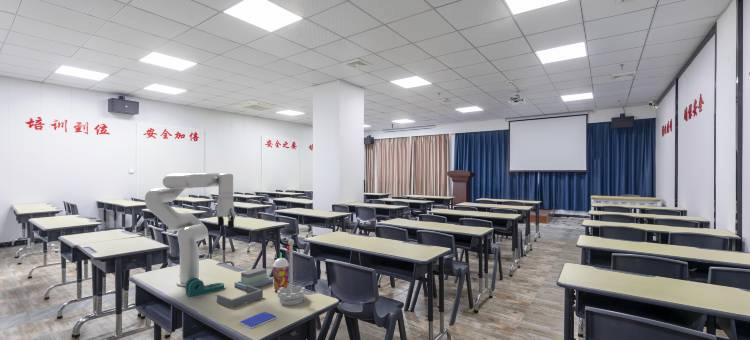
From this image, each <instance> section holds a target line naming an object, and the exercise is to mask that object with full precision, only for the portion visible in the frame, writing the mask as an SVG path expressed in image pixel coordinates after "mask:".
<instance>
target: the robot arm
mask: <svg viewBox="0 0 750 340" xmlns="http://www.w3.org/2000/svg"><path fill="white" fill-rule="evenodd" d="M162 185H163V186H164V187H158V188H153V189H150V190H148V191H147V192H146V193H145V195H144V203H145V206H146V208H147V209H148V210H149V212H151V213H152V214H153V215H154V216H155V217H157V218H158V219H159V220H160V221H161V222H162V223H164V225H165V226H166V227H168V228H169V230H171V231H176V232H177V231H178V232H177V242H178V245H179V246H178V247H179V275H178V277H179V280H177V281H176V285H177V286H180V287H186V282H187V281H188V280H189V279H190V278H193V277H195V278H198V279H199V280H201V281H202V282H203V278H202V277H200V252H199V250H200V249H199V247H198V244H197V242H200V241H203V240H205V239H206V238H207V236H208V233H209V231H208V228H207V226H206V225H205V224H204V223H203V222H202V221H201V220H200V219H198V218H197V217H196V216H195V215H194V214H193V213H190V212H178V211H177V210H175V209H174V208H173V207H172V206H171V205H168V204H166V203H171V202H173V201H175V200H176V199H177V198H179V196H180V195H181V194H182V193H183V192H184V191H185V189H193V188H195V189H197V188H211V187H218V197H217V203H216V204H217V205H216V216H217V226H218V227H223V226H225V218H227V219H228V220H227V228H228V229H231V228H234V227H235V218H236V214H237V212H236V211H235V204H234V202H235V201H234V175H233V174H232V173H220V172H207V173H206V172H203V173H192V172H191V173H190V172H188V173H186V172H185V173H170V174H167V175H165V176H164V178H163V179H162Z"/></svg>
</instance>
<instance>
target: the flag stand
mask: <svg viewBox="0 0 750 340" xmlns="http://www.w3.org/2000/svg"><path fill="white" fill-rule="evenodd" d="M287 244H288V246H286V247H285V249H286V250H287V252H288V254H289V284H288V286H287V288H285V289H284V287H281V288H279V290H277V292H276V294H277V297H278V298H279V303H280V304H282V305H284V306H285V305H286V306H287V305H288V306H291V305H293V306H294V305H297V304H300V303H301V302H303V299H304V296H305V294H306V289H305V286H303V287H302V285H297V284H296V286H295V287H294V286H293V285H294V283H293V282H294V281H293V280H294V273H293V272H294V263H293V262H294V261H293V260H294V259H293V257H294V252H293V251H294V247H293V246H294V244H295V240H294V239H291V238H290V239H288V242H287Z"/></svg>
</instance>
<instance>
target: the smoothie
mask: <svg viewBox="0 0 750 340" xmlns="http://www.w3.org/2000/svg"><path fill="white" fill-rule="evenodd" d="M279 255H280V257H279V258H277V259H275V261H274V262H273V264H272V272H273V288H274V290H275V292H276V293H277V290H279V288H281V287H284V289H285V288H287V286H289V275H290V262H289V261H288V260H287V259H286V258H285V257H282V255H283V254H282V252H280V254H279Z"/></svg>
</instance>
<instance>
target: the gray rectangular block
mask: <svg viewBox="0 0 750 340" xmlns="http://www.w3.org/2000/svg"><path fill="white" fill-rule="evenodd" d="M267 275H268V274H267V268H263V267H257V268H253V269H249V270H245V271H242V272H240V281H241V284H243V285H246V286H247V285H251V284H255V283H258V282H261V281H264V280H267V277H268V276H267Z"/></svg>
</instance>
